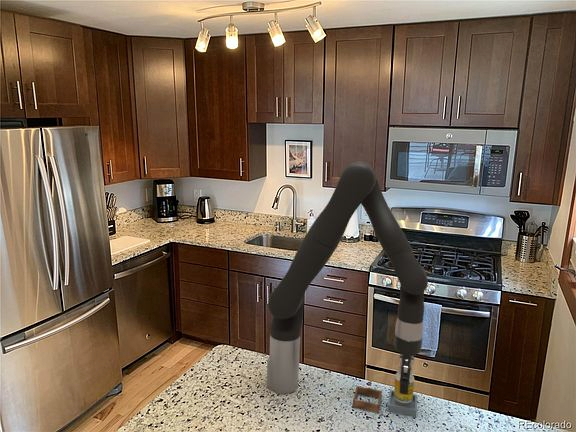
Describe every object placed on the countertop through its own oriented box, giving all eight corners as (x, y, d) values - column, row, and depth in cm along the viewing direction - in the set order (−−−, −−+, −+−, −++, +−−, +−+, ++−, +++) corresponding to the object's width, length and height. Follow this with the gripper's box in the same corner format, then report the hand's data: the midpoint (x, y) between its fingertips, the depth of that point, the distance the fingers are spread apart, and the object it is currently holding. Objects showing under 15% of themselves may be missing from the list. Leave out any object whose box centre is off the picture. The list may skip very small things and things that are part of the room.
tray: (387, 411, 126) (387, 404, 125) (389, 396, 133) (389, 389, 133) (416, 417, 124) (416, 410, 123) (416, 401, 131) (417, 395, 131)
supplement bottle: (402, 390, 132) (405, 361, 130) (416, 400, 127) (419, 370, 125) (389, 396, 129) (392, 366, 127) (403, 406, 124) (406, 375, 122)
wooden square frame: (352, 407, 127) (352, 399, 127) (356, 393, 134) (356, 385, 134) (378, 413, 125) (379, 405, 124) (381, 398, 132) (381, 390, 132)
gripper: (396, 321, 132) (392, 372, 135) (393, 342, 118) (388, 399, 122) (422, 325, 130) (417, 377, 133) (422, 347, 116) (416, 404, 119)
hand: (403, 387), depth 127 cm, fingers closed on supplement bottle, 5 cm apart
